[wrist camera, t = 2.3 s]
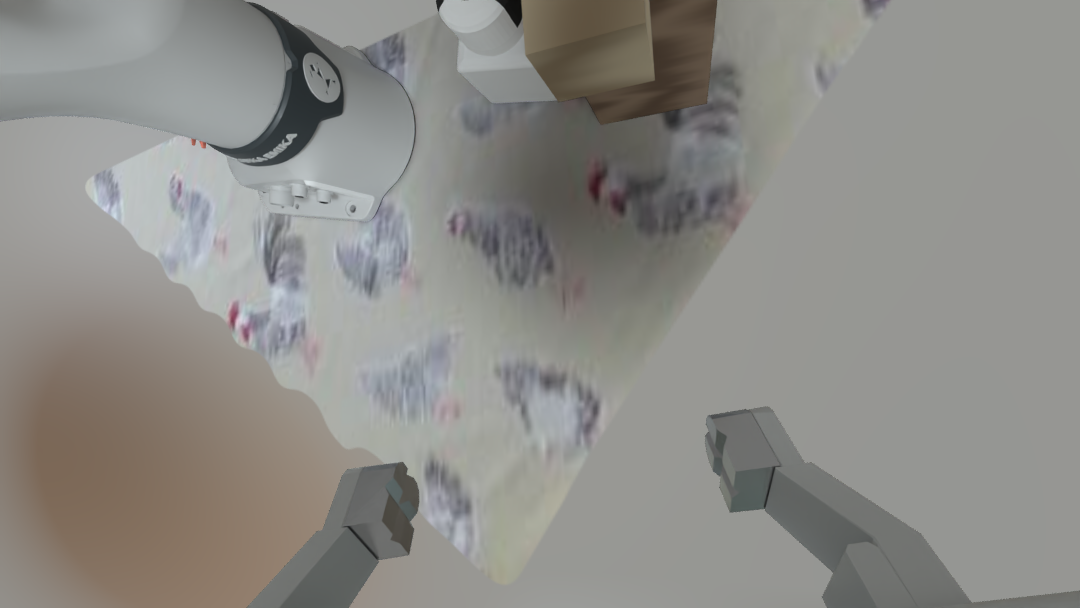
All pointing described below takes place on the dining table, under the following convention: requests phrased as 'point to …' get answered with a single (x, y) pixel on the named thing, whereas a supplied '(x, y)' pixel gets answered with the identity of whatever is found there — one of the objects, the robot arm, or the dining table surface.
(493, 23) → the medicine bottle
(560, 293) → the dining table surface
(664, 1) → the stand
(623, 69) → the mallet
